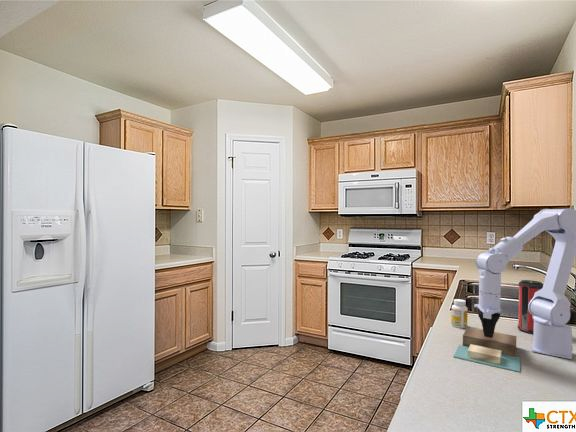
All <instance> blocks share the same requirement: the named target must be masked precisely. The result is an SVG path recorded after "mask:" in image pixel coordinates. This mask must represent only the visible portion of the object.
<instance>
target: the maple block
mask: <svg viewBox="0 0 576 432" xmlns="http://www.w3.org/2000/svg"><path fill="white" fill-rule="evenodd" d="M501 352H502V351H501V350H496V349H491V348H486V347H482V346H477V345H472V344H470V346H469V349H468V357H469V358H473V359H477V360H482V361H486V362H490V363H495V364H499V365H500V362H501Z"/></svg>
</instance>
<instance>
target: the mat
mask: <svg viewBox="0 0 576 432" xmlns="http://www.w3.org/2000/svg"><path fill="white" fill-rule="evenodd" d="M468 349H469V347H467V346H463V344H462V345H461V344H459V345H458V346H457V348H456V349H455V353H454V354H453V358H455V359H459V360H460V359H461V360H463V361H464V360H465V361H469V362H474V363H477V364H482V365H485V366H486V365H487V366H491V367H495V368H500V369H504V370H508V371H512V372H517V373H520V372H521V370H520V368H521V358H520V357H519V356H516V357H514V356H510V355H505V354H501V362H500V365H499V364H495V363H490V362H486V361H482V360H477V359H473V358H469V357H468Z"/></svg>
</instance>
